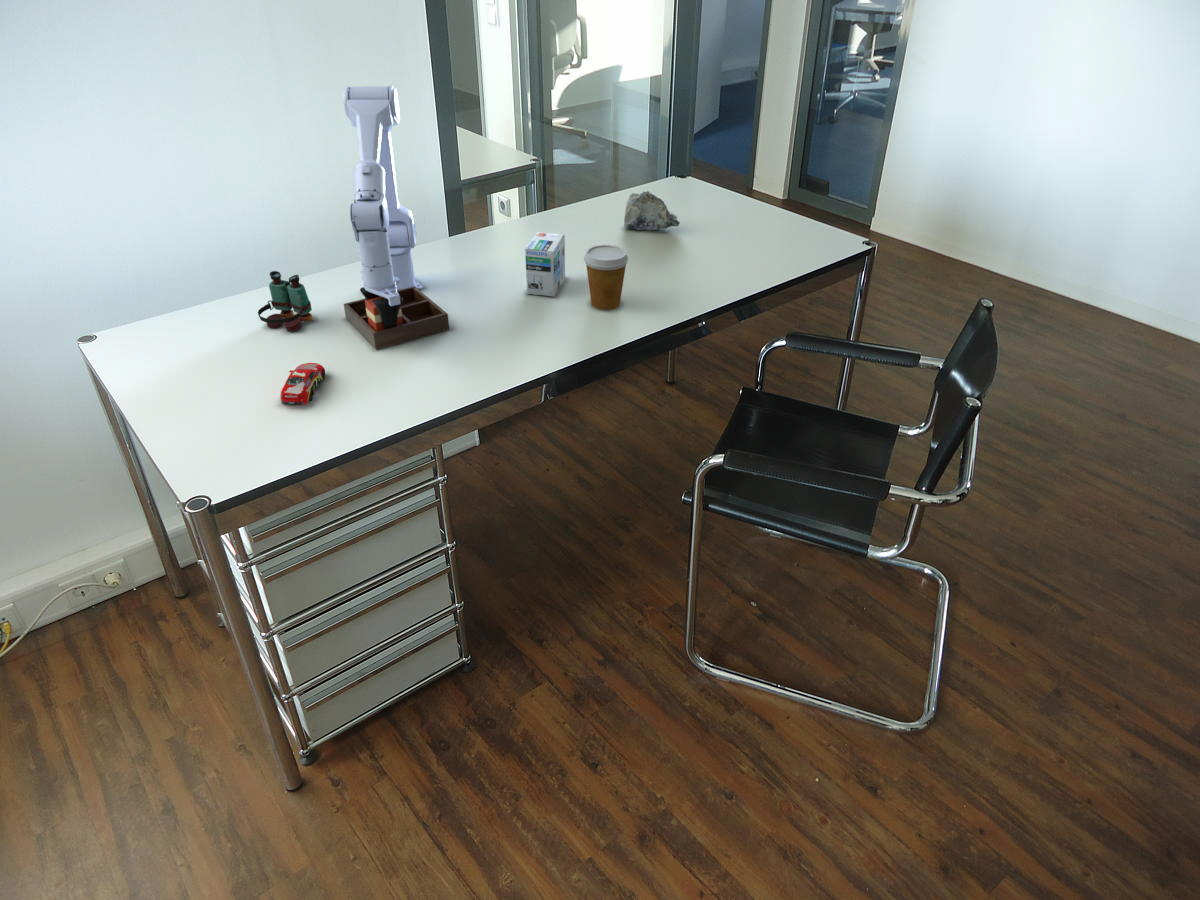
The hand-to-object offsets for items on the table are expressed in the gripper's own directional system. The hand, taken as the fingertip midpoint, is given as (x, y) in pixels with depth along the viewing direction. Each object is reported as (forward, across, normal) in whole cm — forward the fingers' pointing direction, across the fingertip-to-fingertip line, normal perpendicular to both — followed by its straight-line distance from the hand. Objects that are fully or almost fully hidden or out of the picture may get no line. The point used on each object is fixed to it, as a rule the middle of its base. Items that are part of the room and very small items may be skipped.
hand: (385, 325), depth 173 cm
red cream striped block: (+2, 0, 0) cm, 2 cm away
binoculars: (+3, +16, +15) cm, 22 cm away
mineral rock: (+3, +18, -81) cm, 83 cm away
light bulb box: (+3, +3, -40) cm, 40 cm away
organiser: (+3, +4, -4) cm, 6 cm away
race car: (+3, -11, +21) cm, 24 cm away
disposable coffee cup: (+3, -12, -46) cm, 48 cm away
